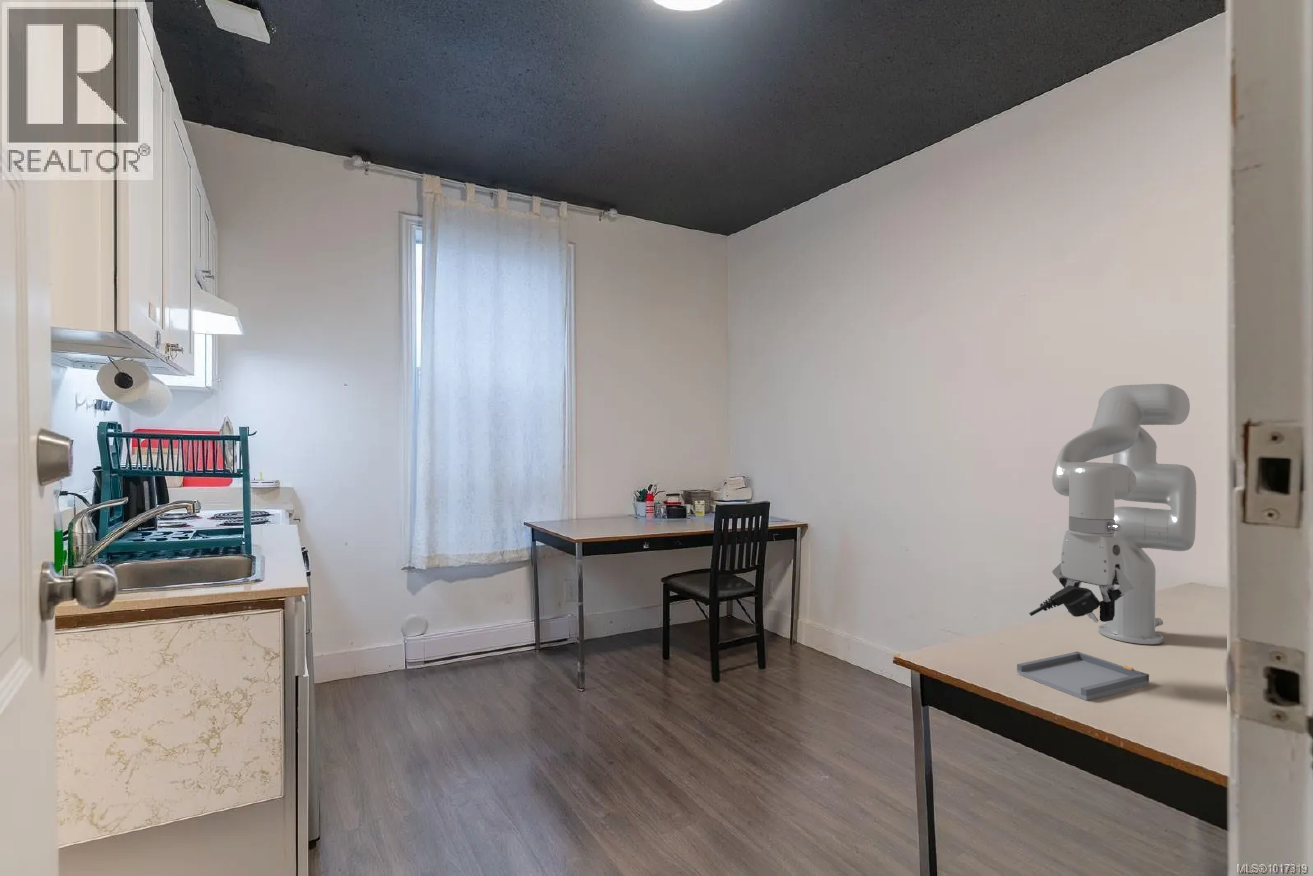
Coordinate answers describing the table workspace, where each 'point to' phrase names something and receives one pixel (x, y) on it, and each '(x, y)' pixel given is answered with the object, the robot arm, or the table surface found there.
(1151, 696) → the table surface
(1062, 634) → the table surface
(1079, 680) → the dock
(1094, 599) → the power plug
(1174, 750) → the table surface
